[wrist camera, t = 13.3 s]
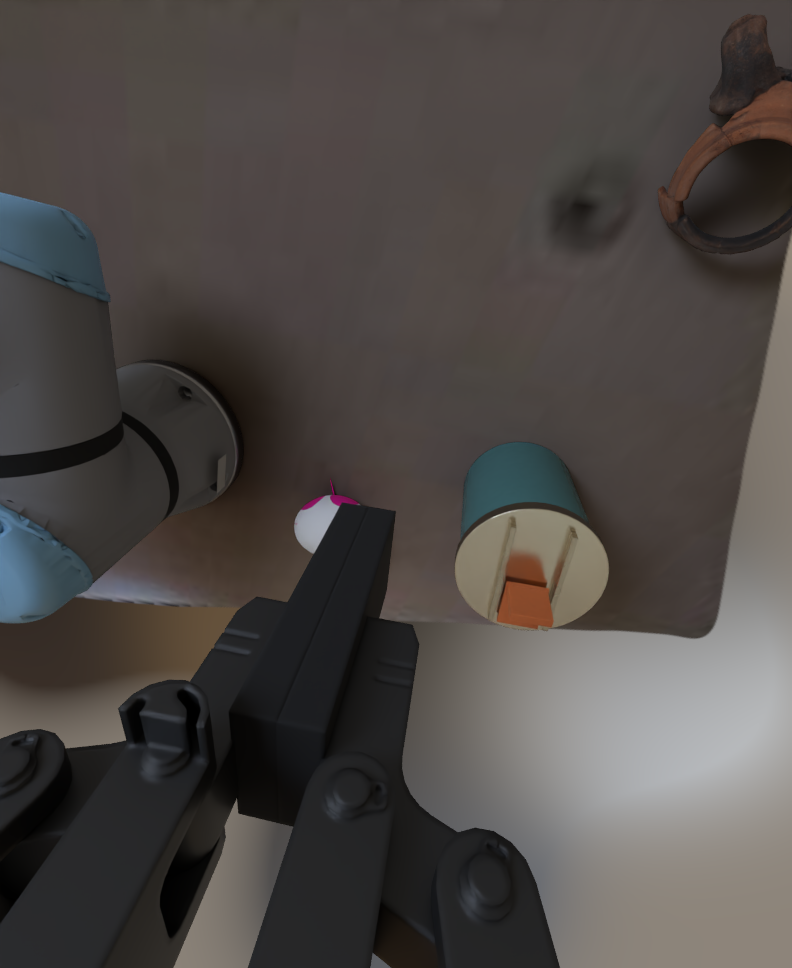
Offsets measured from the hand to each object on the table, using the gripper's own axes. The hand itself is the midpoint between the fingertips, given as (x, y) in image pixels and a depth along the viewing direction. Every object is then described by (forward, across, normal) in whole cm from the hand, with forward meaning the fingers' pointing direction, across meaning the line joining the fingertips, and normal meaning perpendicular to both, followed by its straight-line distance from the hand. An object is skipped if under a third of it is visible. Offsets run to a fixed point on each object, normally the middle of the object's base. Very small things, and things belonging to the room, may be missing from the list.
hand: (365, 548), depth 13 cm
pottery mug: (+31, +17, +15) cm, 38 cm away
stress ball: (+31, -8, -17) cm, 36 cm away
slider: (+17, +9, -15) cm, 24 cm away
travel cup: (+30, +9, -12) cm, 34 cm away
